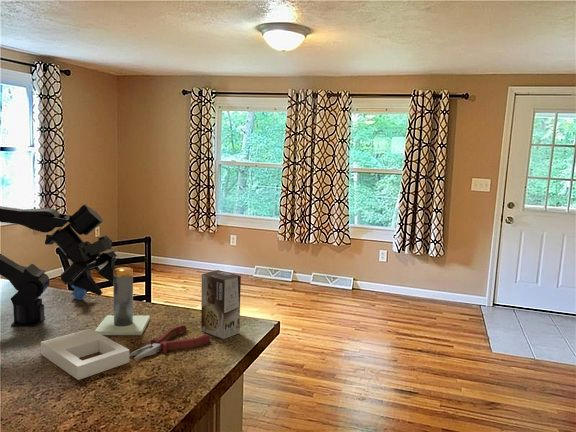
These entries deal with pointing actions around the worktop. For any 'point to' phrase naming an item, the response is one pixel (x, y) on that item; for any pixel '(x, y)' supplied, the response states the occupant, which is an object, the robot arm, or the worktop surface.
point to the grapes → (78, 292)
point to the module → (123, 296)
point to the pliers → (170, 343)
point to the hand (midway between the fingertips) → (110, 289)
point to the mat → (133, 329)
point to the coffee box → (220, 303)
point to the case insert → (84, 353)
